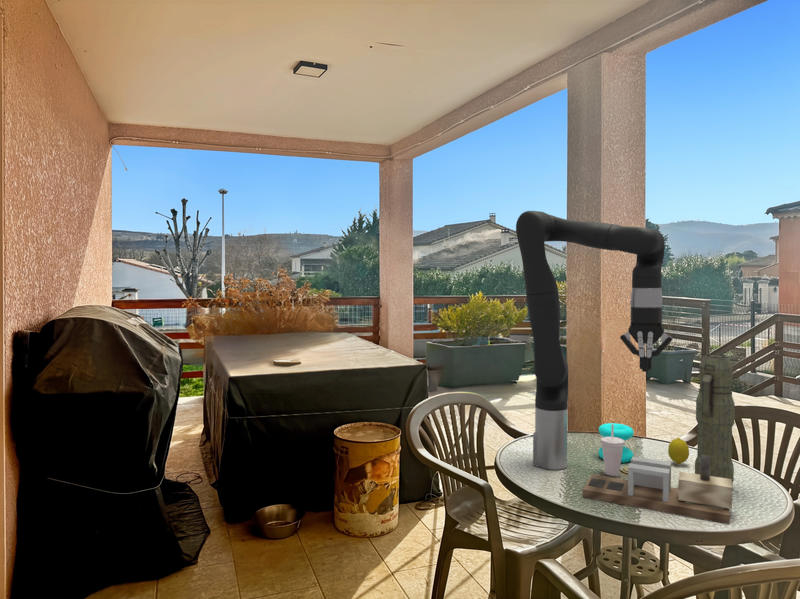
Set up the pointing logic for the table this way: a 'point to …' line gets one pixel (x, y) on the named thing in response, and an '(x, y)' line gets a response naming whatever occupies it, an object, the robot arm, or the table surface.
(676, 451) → the lemon
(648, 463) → the tunnel
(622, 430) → the donuts
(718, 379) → the green stone statue
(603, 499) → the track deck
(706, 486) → the block
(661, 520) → the table surface
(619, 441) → the smoothie
